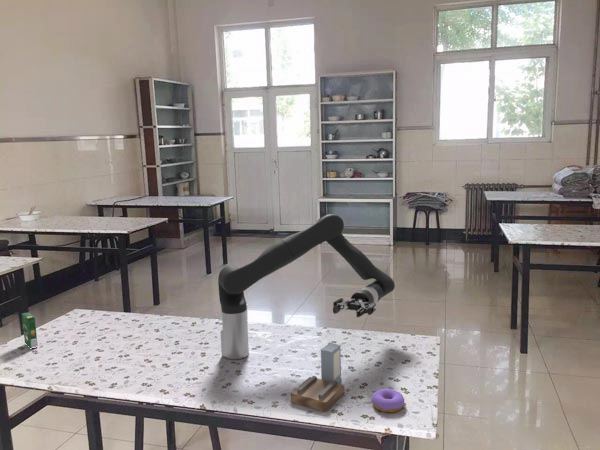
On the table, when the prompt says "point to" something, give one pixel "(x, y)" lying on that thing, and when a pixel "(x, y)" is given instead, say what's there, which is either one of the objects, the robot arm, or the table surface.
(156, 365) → the table surface
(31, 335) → the coffee box
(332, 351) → the light blue rectangular block
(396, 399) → the donut
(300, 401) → the display stand
